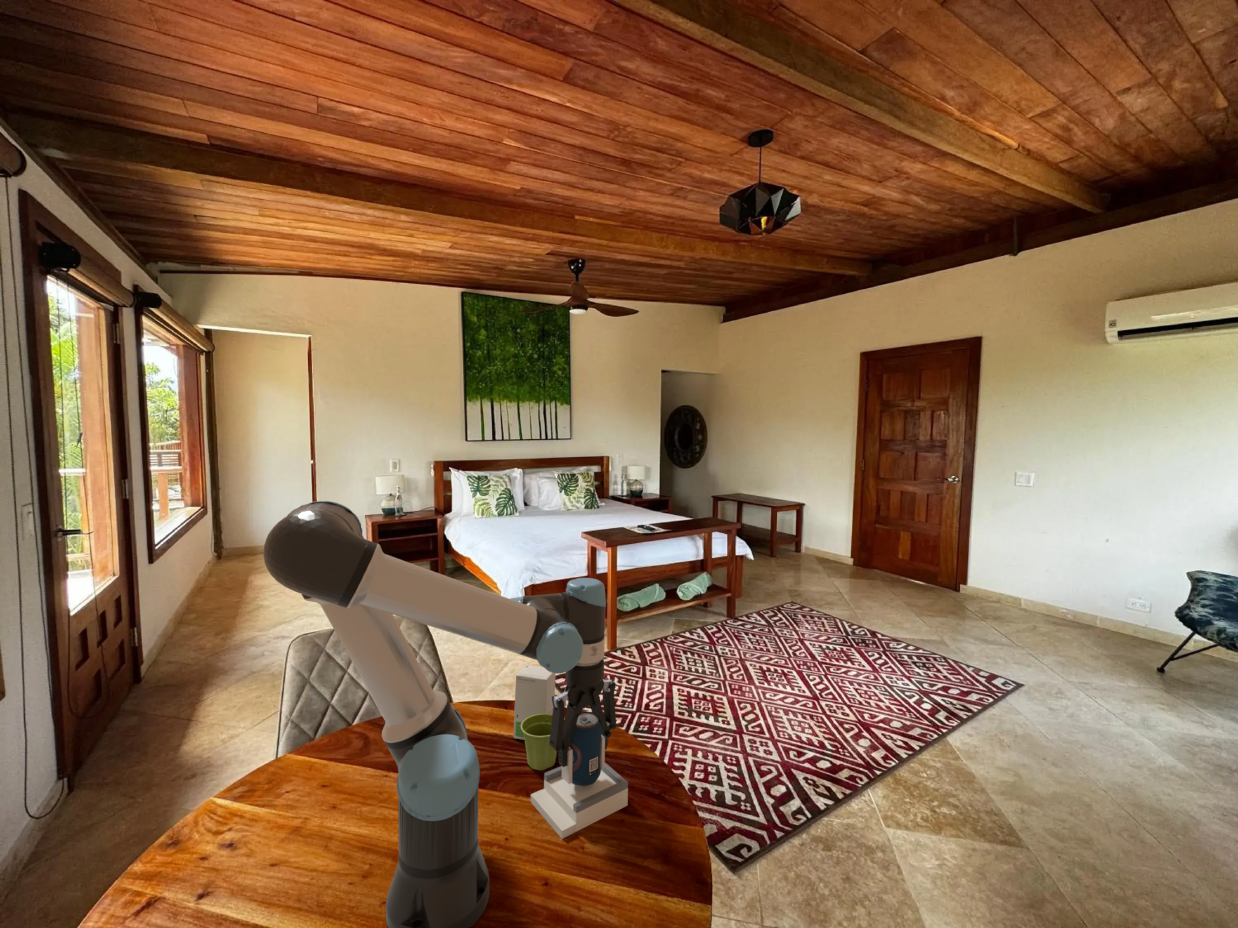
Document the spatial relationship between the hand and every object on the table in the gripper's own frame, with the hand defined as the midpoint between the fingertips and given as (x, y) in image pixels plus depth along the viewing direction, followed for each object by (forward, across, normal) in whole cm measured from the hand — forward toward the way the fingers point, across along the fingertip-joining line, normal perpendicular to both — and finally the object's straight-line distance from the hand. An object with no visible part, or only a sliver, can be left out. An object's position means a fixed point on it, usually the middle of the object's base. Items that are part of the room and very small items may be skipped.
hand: (583, 772), depth 105 cm
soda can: (+1, 0, 0) cm, 1 cm away
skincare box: (+6, +4, +27) cm, 28 cm away
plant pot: (+6, 0, +16) cm, 17 cm away
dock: (+6, -1, 0) cm, 6 cm away
